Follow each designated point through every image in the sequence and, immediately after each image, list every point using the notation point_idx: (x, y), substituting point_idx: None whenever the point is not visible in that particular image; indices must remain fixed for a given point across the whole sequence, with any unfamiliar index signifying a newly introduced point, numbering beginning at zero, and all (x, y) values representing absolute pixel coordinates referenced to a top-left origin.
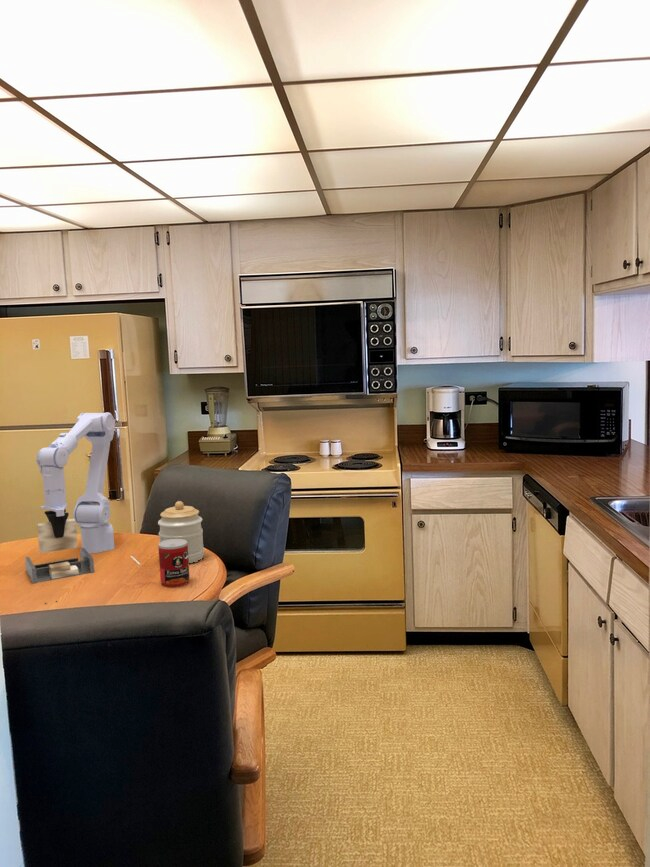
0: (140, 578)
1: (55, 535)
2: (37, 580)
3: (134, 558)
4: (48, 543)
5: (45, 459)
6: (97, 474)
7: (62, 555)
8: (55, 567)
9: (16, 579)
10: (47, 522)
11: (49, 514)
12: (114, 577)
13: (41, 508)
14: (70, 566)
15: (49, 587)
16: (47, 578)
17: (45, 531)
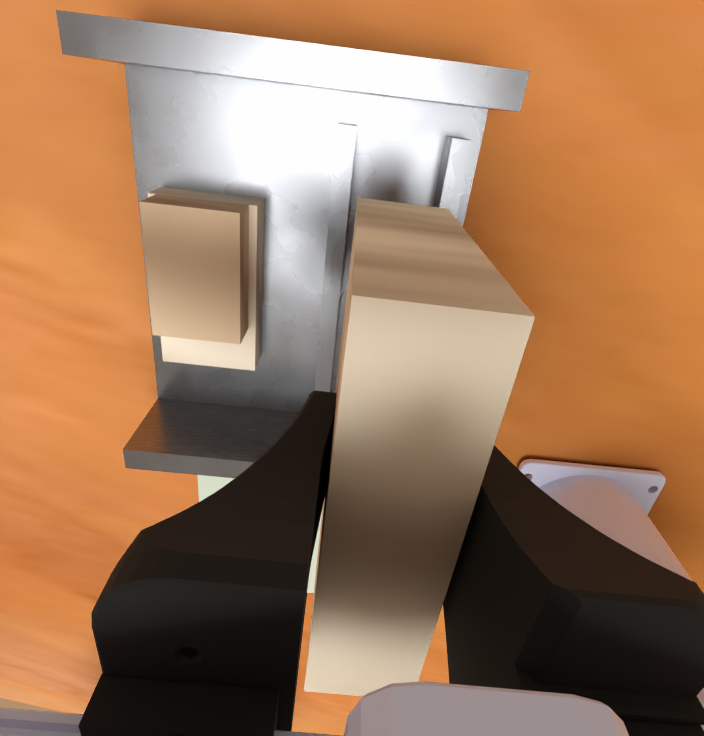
0: (15, 524)
1: (306, 406)
2: (182, 84)
3: (307, 592)
4: (346, 303)
5: None
6: None
7: (696, 391)
8: (142, 234)
9: None
10: (479, 466)
11: (232, 623)
12: (86, 459)
13: (394, 721)
14: (244, 340)
15: (72, 135)
16: (189, 162)
17: (343, 345)
